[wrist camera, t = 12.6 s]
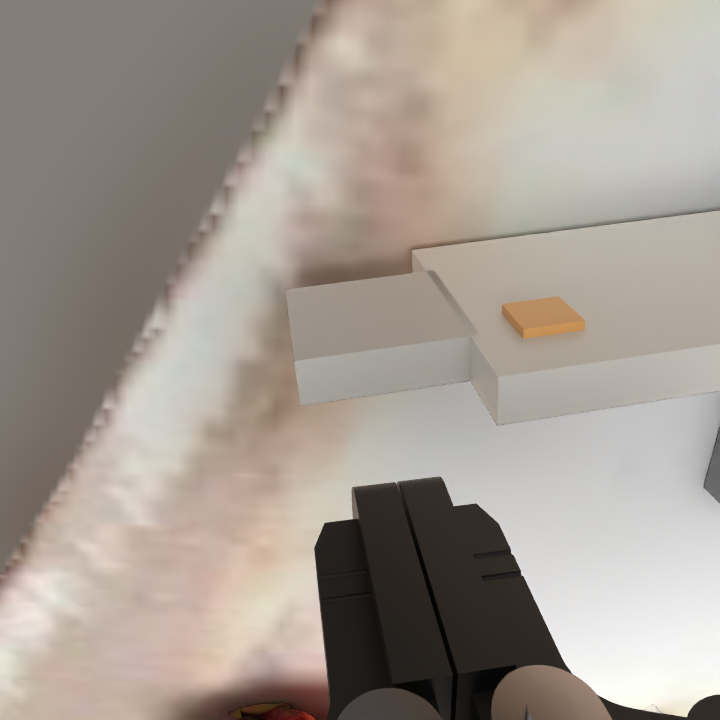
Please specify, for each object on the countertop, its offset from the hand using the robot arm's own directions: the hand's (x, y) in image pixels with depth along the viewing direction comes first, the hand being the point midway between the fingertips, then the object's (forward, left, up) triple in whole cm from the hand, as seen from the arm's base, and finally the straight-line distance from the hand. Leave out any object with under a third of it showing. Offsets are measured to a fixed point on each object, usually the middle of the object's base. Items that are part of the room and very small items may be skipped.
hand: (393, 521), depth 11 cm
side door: (-2, +6, -8) cm, 10 cm away
